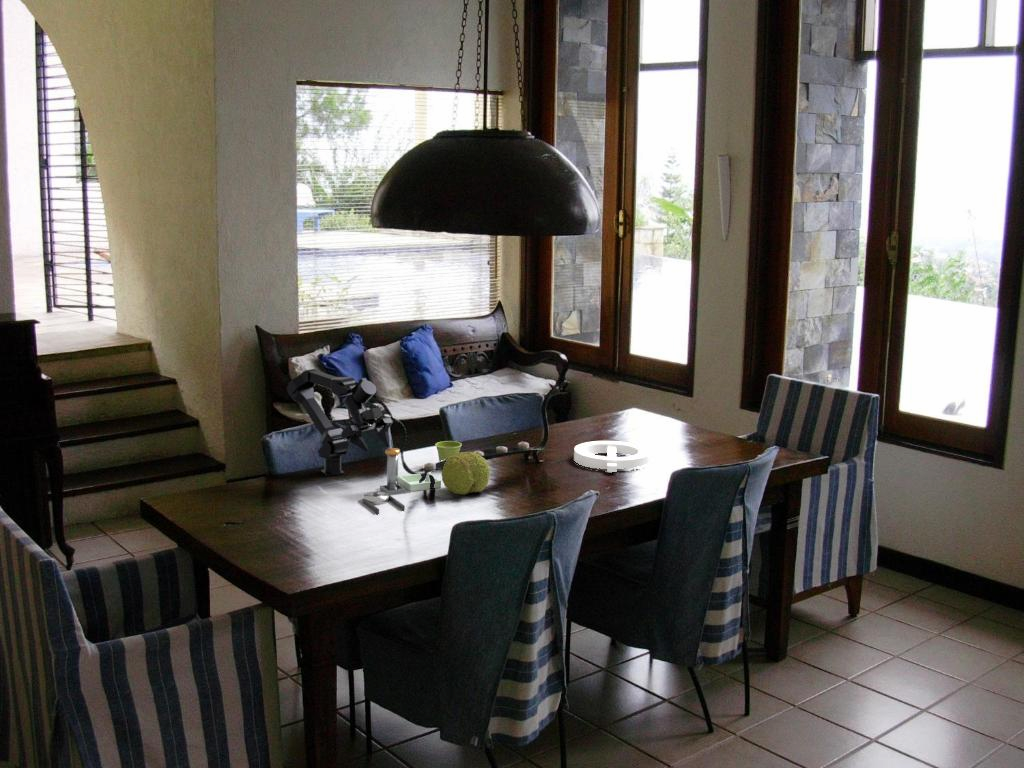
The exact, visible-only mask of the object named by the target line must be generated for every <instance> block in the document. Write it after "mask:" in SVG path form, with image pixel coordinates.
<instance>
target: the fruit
mask: <svg viewBox="0 0 1024 768" xmlns="http://www.w3.org/2000/svg"><path fill="white" fill-rule="evenodd" d="M490 473H491V469H490V466H489V464H488V461H487V460H486V458H484V457H483V456H481V455H480V454H479V453H475V452H471V451H466V452H465V451H461V452H459V453H457V454H454V455H452V456H450V457H449V458H448V459H447V460H446V462H445V464H444V466H443V469H442V470H441V482H443V484H444V487H445V488H447V490H448V491H450V492H452V493H453V494H455V495H467V494H470V493H471V494H472V493H478V492H482V491H484V489H486V486H487V485H488V484H489V480H490Z"/></svg>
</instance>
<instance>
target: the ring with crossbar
mask: <svg viewBox="0 0 1024 768" xmlns="http://www.w3.org/2000/svg"><path fill="white" fill-rule="evenodd" d="M598 453H607V455H606V456H605V455H595V454H598ZM616 453H625V454H630V455H632V456H627V457H626V456H618V455H617V454H616ZM650 458H651V451H650V450H649V448H647V447H646V446H643V445H641V444H638V443H632V442H627V441H619V440H618V441H617V440H594V441H586V442H582V443H579V444H577V445H575V446H574V451H573V461H575V462H576V463H578V464H579V465H582V466H585V467H590V468H597V469H599V468H600V469H607V471H606V473H612V472H617V469H624V468H633V467H637V466H642V465H644V464H647V463H648V462H649V461H650V460H651V459H650ZM575 462H574V463H575ZM650 462H651V461H650ZM576 463H575V464H576ZM578 464H577V465H578ZM579 465H578V466H579ZM582 466H581V467H582ZM617 473H618V472H617Z"/></svg>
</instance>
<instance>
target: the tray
mask: <svg viewBox="0 0 1024 768" xmlns="http://www.w3.org/2000/svg"><path fill="white" fill-rule="evenodd" d="M432 476H433V477H434V479H435V484H434V488H435V489H441V488H442V480H440V479H438V478H437V477H435V476H434V475H432ZM420 479H421V474H420V473H415V474H413V473H412V474H405V475H398V484H399V485H401V486H402V487H404V488H405V489H406V490H407V491H409V492H410V493H414V492H421V491H429V490H430V489H429V488H430V483H431V482H429V475H427V477H426V480H425V482H424V483H419V480H420ZM435 489H434V490H435Z"/></svg>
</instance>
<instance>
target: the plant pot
mask: <svg viewBox="0 0 1024 768" xmlns="http://www.w3.org/2000/svg"><path fill="white" fill-rule="evenodd" d="M435 447H436V450H437V454H438V462H439V461H441V460H444V459H446V458H449V457H450V456H452V455H454V454H457V453H460V450H461V447H462V442H459V441H453V440H444V441H439V442H438V441H437V442H436V443H435Z"/></svg>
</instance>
